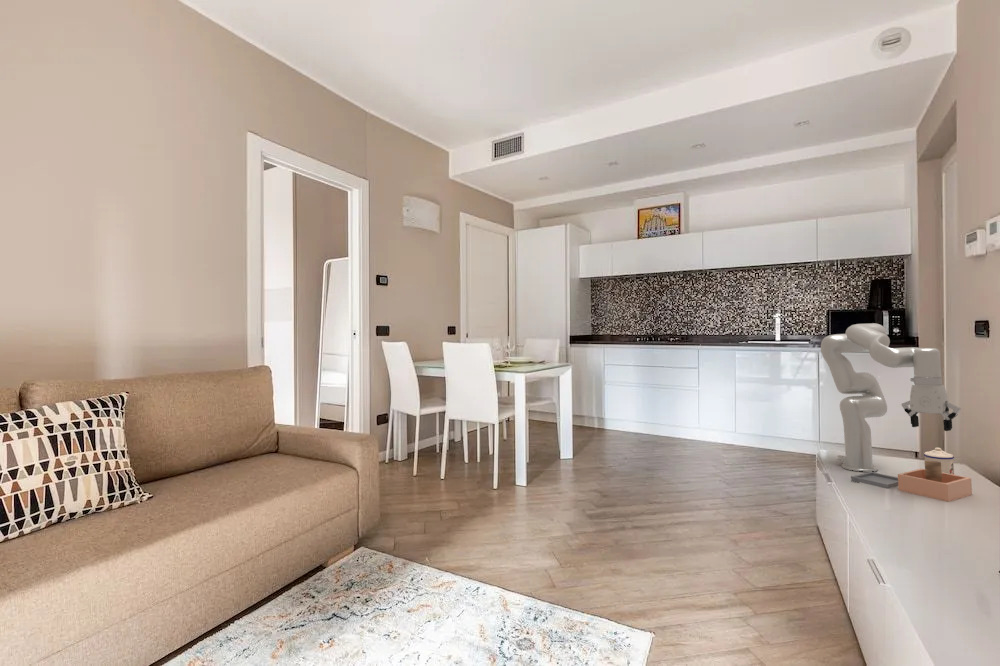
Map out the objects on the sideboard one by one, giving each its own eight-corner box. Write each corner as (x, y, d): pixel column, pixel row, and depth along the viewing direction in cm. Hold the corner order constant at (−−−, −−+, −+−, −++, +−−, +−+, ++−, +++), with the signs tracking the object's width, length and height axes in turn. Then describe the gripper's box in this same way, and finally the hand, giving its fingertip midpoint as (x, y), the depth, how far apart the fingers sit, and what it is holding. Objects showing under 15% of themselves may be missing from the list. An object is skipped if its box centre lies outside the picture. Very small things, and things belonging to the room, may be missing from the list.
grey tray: (851, 481, 193) (851, 476, 193) (871, 476, 198) (871, 471, 198) (887, 489, 181) (887, 484, 181) (908, 484, 186) (907, 479, 186)
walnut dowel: (923, 491, 176) (921, 461, 176) (930, 489, 178) (928, 459, 178) (938, 494, 172) (936, 464, 172) (945, 492, 174) (943, 462, 174)
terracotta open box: (898, 491, 179) (897, 474, 179) (921, 485, 185) (920, 468, 185) (948, 503, 165) (947, 484, 165) (972, 496, 171) (971, 477, 171)
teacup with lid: (957, 481, 188) (956, 451, 188) (927, 478, 193) (925, 449, 193) (950, 473, 198) (949, 445, 198) (921, 471, 203) (920, 443, 203)
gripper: (894, 381, 182) (897, 426, 182) (952, 383, 166) (955, 433, 166) (906, 380, 185) (909, 424, 185) (963, 382, 169) (967, 431, 169)
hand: (931, 428), depth 175 cm, fingers open, 9 cm apart
